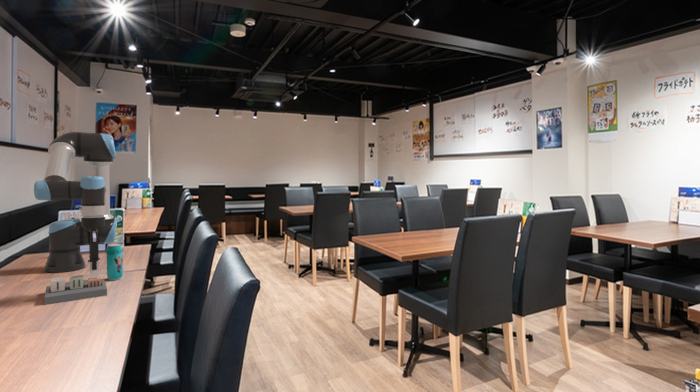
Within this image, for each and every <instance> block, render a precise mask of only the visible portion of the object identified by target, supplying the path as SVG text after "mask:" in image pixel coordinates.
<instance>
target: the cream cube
mask: <svg viewBox="0 0 700 392" xmlns="http://www.w3.org/2000/svg"><path fill="white" fill-rule="evenodd" d="M65 278H66V277H65V276H64V277H54V278H50V286H51V292H57V291H64V290H65V284H66V279H65Z"/></svg>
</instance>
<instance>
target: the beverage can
mask: <svg viewBox="0 0 700 392" xmlns="http://www.w3.org/2000/svg"><path fill="white" fill-rule="evenodd" d="M123 261H124V260H123V246H122V243H110V244H107V247H106V276H107V279H108V280H109V281H112V282H113V281H119V280H122V277H123V275H124V274H123V271H124V267H123V265H124V264H123Z"/></svg>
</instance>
